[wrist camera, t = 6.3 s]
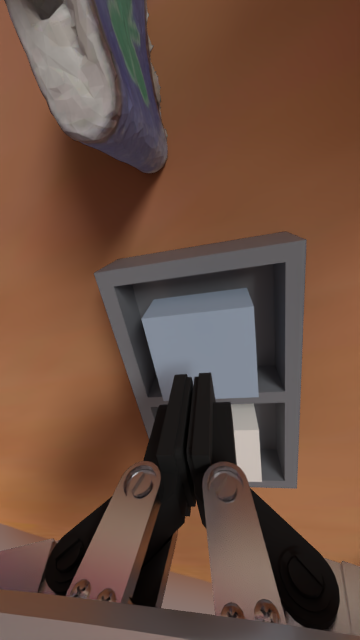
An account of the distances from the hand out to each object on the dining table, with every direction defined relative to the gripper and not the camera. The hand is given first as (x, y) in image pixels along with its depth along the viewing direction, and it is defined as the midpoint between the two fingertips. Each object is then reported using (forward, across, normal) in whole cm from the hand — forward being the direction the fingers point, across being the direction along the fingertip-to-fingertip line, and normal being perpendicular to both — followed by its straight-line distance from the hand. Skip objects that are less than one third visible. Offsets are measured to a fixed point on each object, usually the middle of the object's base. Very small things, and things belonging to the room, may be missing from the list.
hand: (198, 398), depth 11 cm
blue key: (+6, 0, 0) cm, 6 cm away
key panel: (+9, 0, +5) cm, 10 cm away
